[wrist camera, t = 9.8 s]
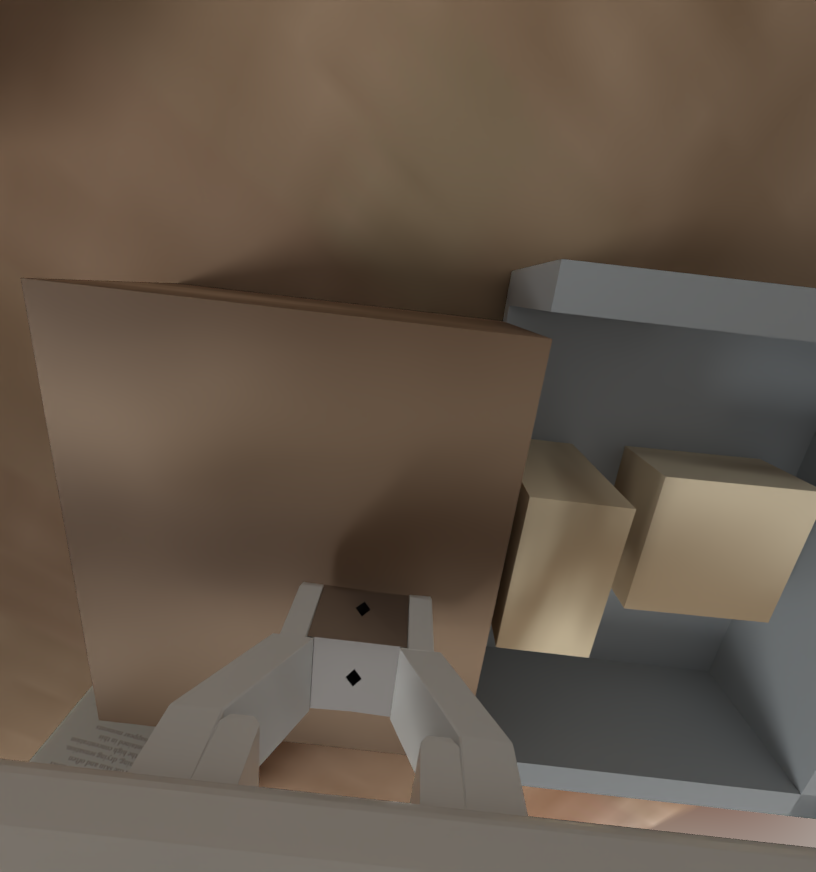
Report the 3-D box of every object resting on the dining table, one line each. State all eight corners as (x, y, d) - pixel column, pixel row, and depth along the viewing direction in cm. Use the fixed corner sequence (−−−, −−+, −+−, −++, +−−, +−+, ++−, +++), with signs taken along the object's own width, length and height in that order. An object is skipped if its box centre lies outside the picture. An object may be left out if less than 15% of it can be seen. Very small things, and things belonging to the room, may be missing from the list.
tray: (715, 680, 18) (819, 819, 13) (445, 649, 18) (452, 777, 13) (882, 313, 13) (1142, 326, 8) (511, 271, 13) (561, 259, 8)
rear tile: (624, 608, 13) (593, 560, 16) (767, 622, 13) (715, 572, 16) (665, 476, 12) (625, 445, 14) (827, 492, 12) (759, 459, 14)
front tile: (476, 550, 16) (543, 557, 16) (495, 647, 11) (588, 657, 11) (497, 435, 14) (572, 443, 14) (529, 496, 10) (636, 509, 10)
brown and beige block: (450, 621, 17) (461, 761, 12) (196, 592, 17) (98, 720, 12) (502, 321, 14) (552, 339, 8) (176, 283, 14) (20, 278, 8)
